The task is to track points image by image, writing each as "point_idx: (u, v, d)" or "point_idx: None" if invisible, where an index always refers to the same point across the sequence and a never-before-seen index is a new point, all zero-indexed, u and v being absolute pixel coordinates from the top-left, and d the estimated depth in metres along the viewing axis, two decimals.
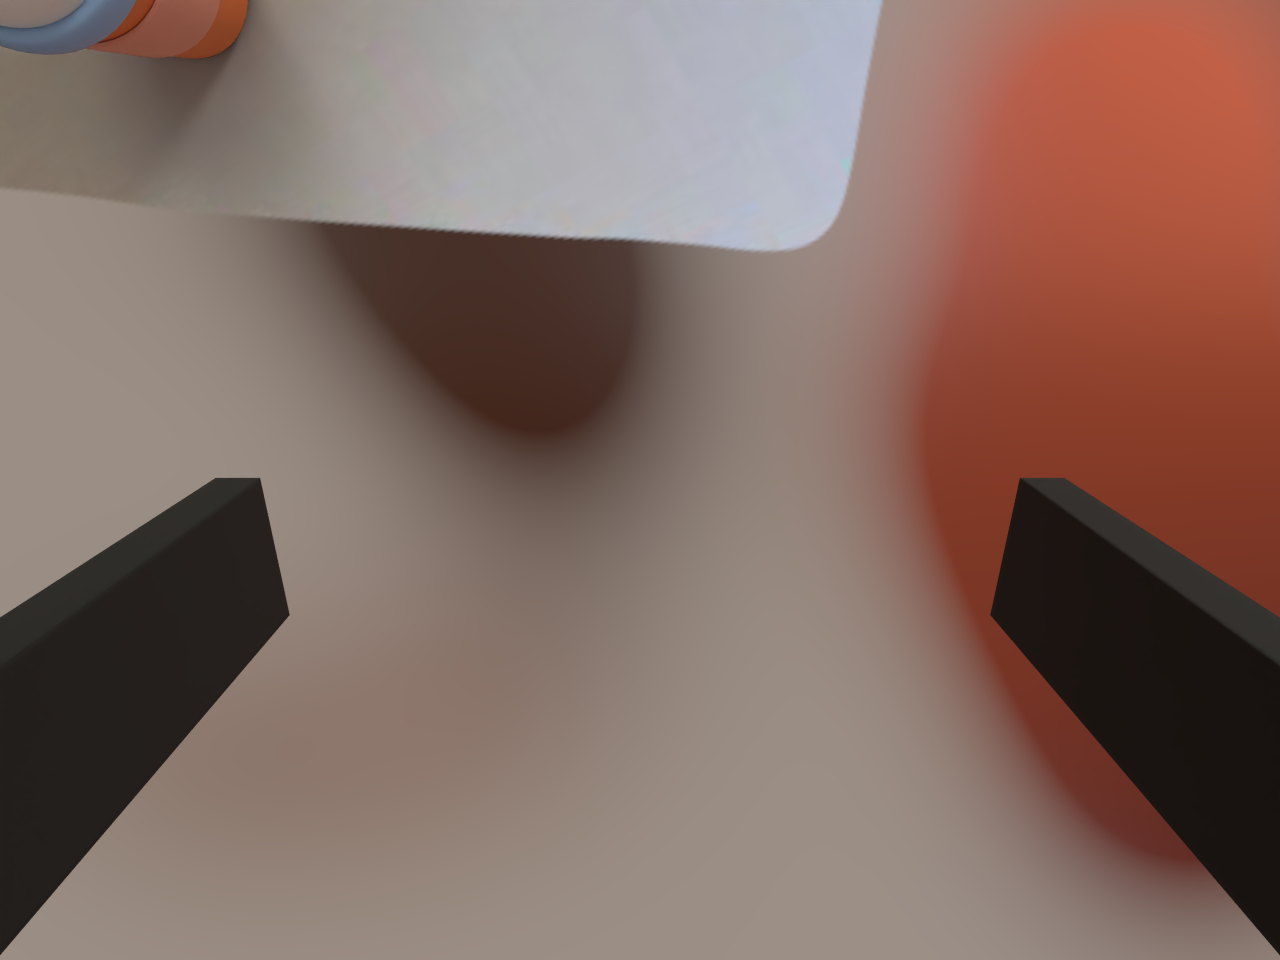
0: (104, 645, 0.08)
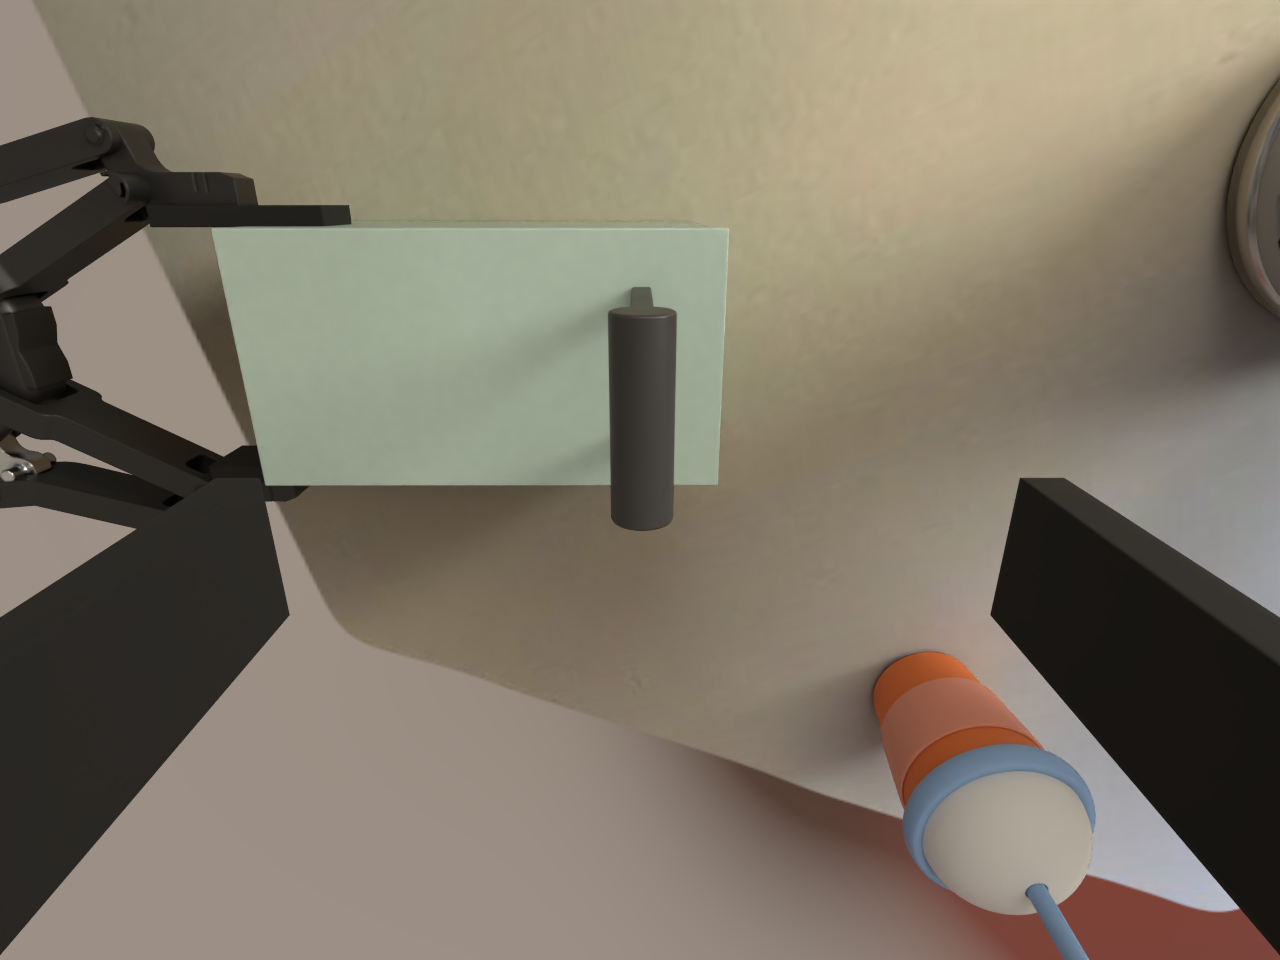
0: (104, 645, 0.08)
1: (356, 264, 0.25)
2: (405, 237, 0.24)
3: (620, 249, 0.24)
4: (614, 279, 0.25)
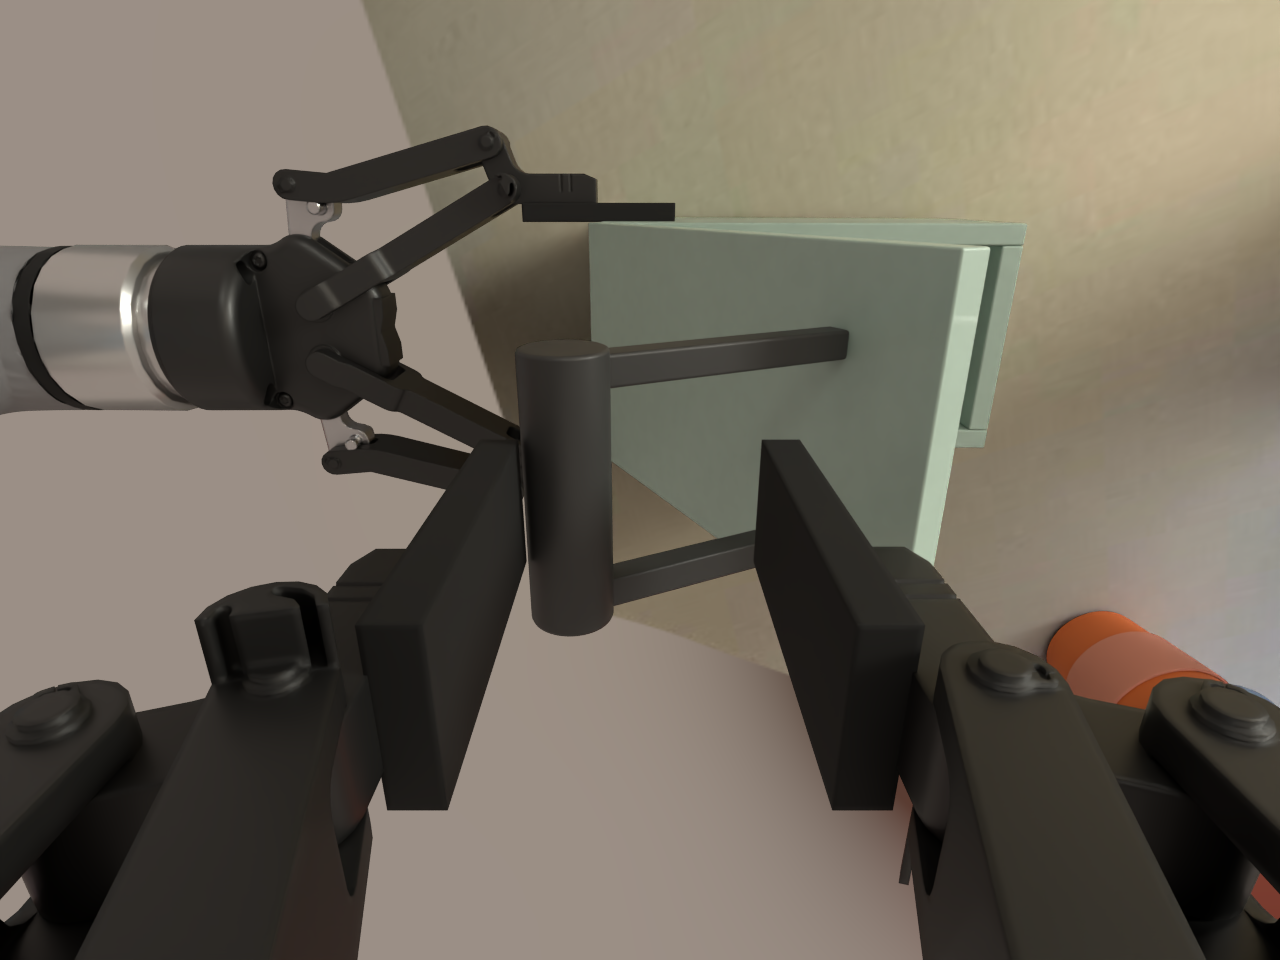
0: (477, 562, 0.10)
1: (643, 262, 0.24)
2: (670, 237, 0.23)
3: (825, 269, 0.17)
4: (814, 311, 0.17)
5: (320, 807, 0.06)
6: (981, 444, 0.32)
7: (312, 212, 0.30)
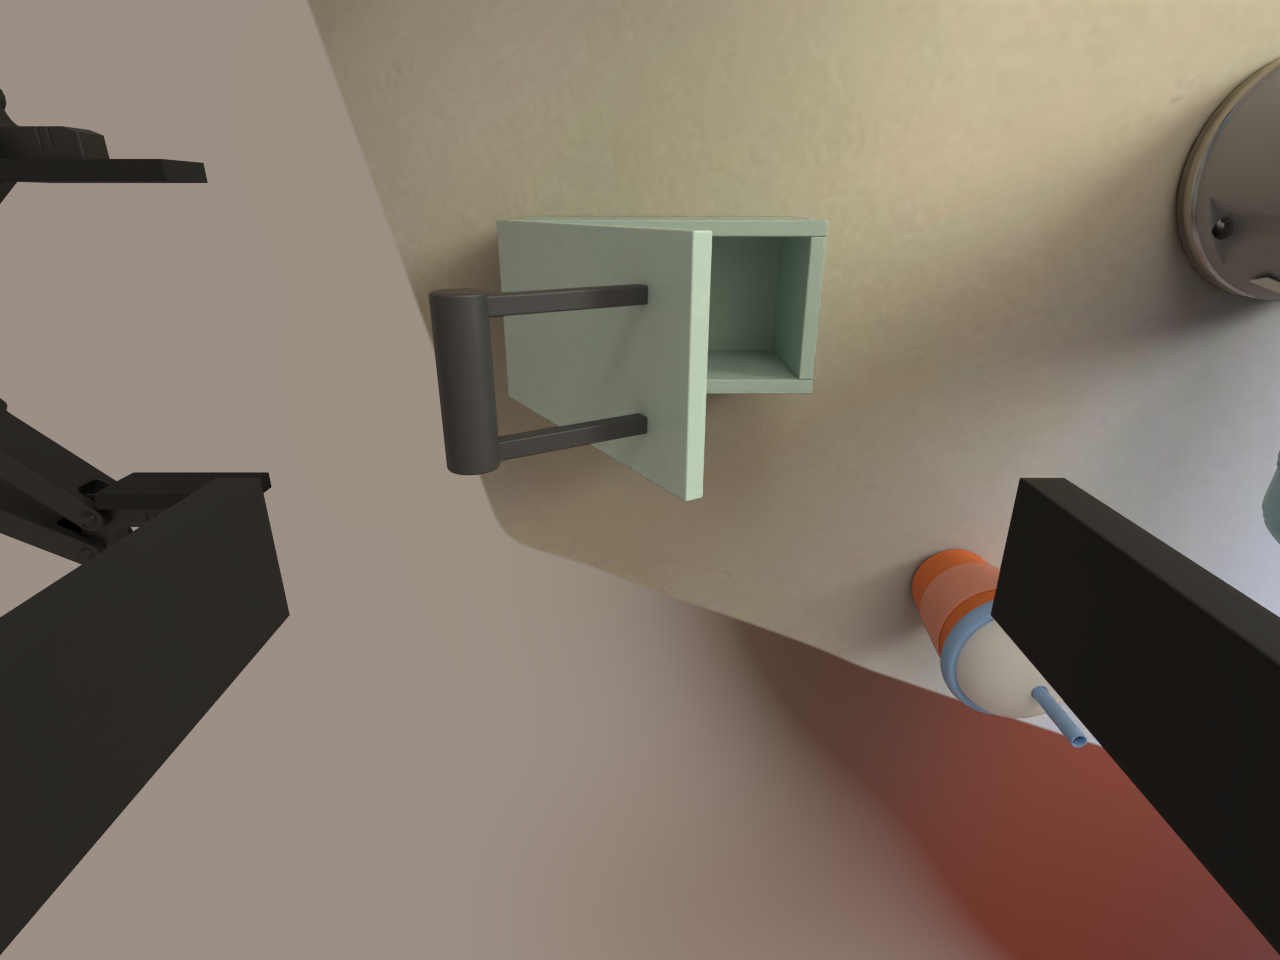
0: (104, 645, 0.08)
1: (534, 248, 0.33)
2: (549, 229, 0.32)
3: (633, 247, 0.26)
4: (630, 275, 0.26)
5: None
6: (809, 390, 0.41)
7: None
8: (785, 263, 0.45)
